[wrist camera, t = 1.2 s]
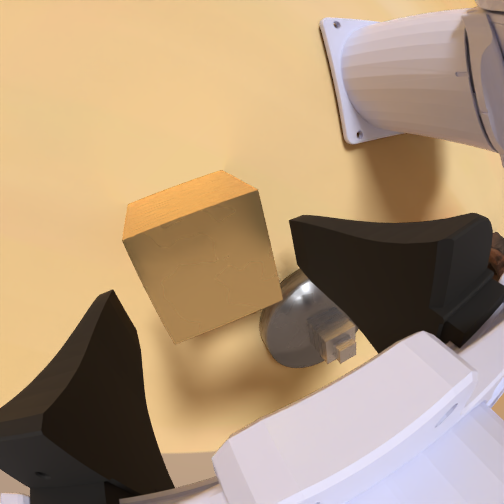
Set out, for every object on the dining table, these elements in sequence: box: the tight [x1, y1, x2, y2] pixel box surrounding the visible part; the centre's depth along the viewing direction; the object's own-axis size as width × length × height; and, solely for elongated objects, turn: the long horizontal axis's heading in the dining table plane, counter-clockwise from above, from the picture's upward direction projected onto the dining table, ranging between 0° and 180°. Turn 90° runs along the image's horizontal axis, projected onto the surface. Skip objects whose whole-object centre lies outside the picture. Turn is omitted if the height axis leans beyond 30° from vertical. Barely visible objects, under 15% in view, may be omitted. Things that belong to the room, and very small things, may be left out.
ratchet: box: [259, 269, 359, 368], centre depth 20 cm, size 22×8×5 cm, turn 104°
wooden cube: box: [122, 170, 283, 344], centre depth 13 cm, size 5×5×5 cm
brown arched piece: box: [487, 232, 504, 282], centre depth 28 cm, size 12×10×8 cm
